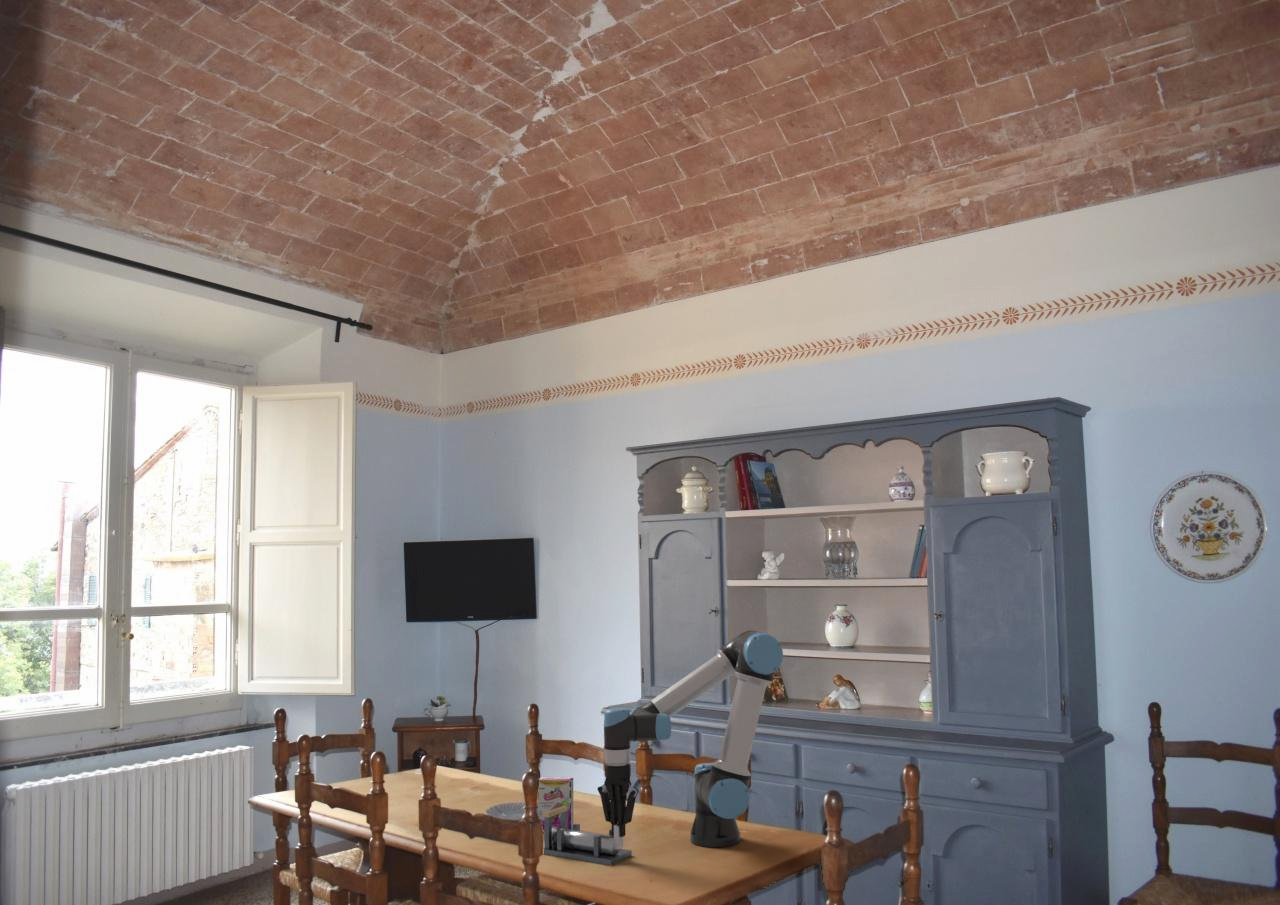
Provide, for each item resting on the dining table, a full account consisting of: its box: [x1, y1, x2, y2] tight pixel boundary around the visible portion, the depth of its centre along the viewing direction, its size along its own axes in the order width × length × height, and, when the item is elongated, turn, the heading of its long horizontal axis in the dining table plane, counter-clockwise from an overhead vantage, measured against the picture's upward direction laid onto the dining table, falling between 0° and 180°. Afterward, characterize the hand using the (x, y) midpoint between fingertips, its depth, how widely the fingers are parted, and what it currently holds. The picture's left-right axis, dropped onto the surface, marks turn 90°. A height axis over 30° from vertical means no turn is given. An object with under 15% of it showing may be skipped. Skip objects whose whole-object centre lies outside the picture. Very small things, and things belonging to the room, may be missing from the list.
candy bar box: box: [538, 776, 575, 831], centre depth 325 cm, size 11×5×16 cm, turn 84°
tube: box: [542, 827, 620, 855], centre depth 297 cm, size 24×5×5 cm, turn 59°
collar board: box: [543, 806, 633, 866], centre depth 297 cm, size 24×11×12 cm, turn 58°
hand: (618, 847), depth 291 cm, fingers closed
